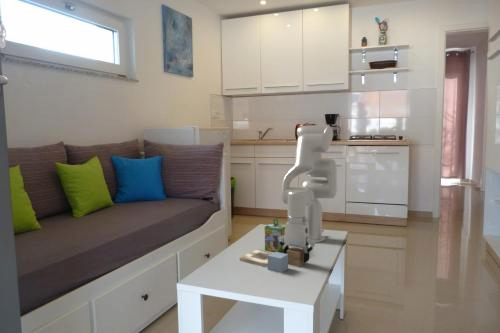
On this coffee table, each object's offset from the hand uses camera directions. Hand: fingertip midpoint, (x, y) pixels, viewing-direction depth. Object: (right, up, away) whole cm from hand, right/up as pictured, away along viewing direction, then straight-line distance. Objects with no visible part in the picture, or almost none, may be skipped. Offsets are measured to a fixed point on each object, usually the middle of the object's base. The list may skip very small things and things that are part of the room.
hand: (296, 259), depth 157 cm
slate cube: (-8, -3, -6) cm, 10 cm away
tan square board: (-14, -1, +6) cm, 16 cm away
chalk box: (-7, 0, +20) cm, 21 cm away
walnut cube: (0, -2, 0) cm, 2 cm away
